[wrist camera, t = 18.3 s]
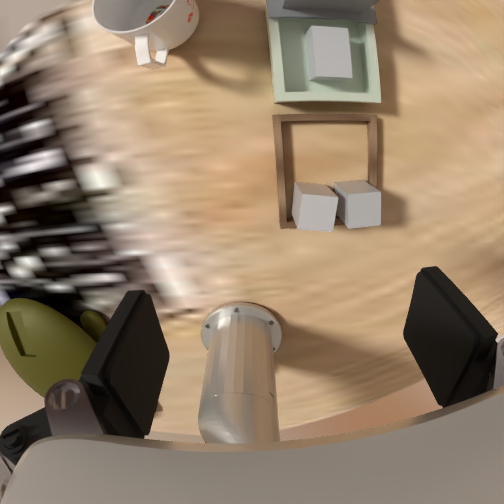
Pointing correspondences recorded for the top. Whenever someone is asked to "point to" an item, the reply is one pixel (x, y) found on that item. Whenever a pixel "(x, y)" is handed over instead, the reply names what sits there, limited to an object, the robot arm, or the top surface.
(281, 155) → the tray
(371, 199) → the stone
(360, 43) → the bin
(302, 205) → the stone
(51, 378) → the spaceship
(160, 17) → the mug
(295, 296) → the top surface
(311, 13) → the bin lid
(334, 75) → the stone
